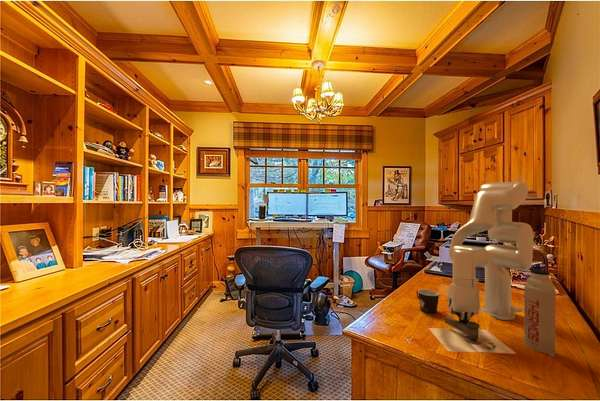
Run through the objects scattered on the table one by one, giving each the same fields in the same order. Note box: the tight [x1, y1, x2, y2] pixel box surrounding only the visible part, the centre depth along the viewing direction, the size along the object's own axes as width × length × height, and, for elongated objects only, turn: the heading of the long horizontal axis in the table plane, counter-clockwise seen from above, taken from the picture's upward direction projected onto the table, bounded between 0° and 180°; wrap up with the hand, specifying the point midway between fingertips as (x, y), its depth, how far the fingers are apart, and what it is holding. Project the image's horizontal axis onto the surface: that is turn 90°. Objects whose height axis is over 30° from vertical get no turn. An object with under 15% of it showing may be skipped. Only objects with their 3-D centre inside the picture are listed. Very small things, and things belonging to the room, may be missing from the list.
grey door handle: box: [444, 315, 492, 348], centre depth 98 cm, size 18×4×5 cm, turn 21°
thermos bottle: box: [523, 268, 556, 358], centre depth 92 cm, size 8×8×28 cm
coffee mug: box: [416, 288, 440, 315], centre depth 123 cm, size 12×9×10 cm
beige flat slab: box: [428, 327, 517, 355], centre depth 97 cm, size 22×16×2 cm
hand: (463, 328), depth 103 cm, fingers closed
